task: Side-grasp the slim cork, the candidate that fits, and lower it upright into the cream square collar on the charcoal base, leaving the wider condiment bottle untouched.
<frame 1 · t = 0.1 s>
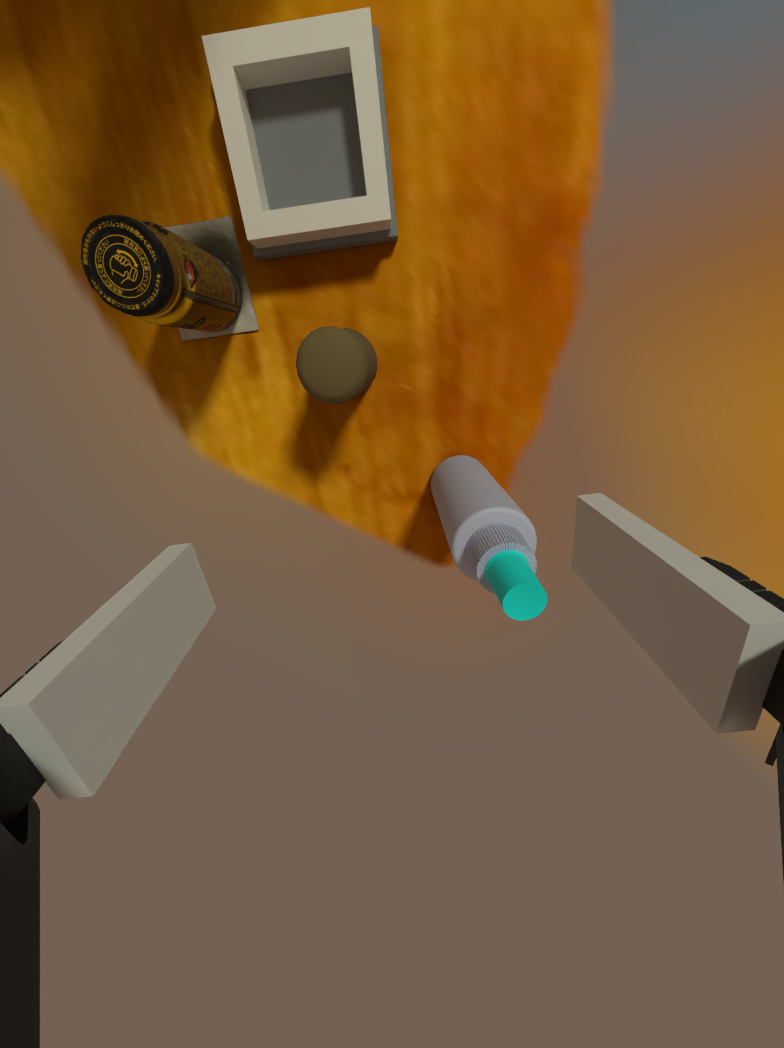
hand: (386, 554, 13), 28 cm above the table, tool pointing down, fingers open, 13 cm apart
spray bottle: (457, 481, 42), on the table
collar holder: (313, 160, 31), on the table
condiment: (207, 282, 34), on the table
cork: (345, 363, 37), on the table
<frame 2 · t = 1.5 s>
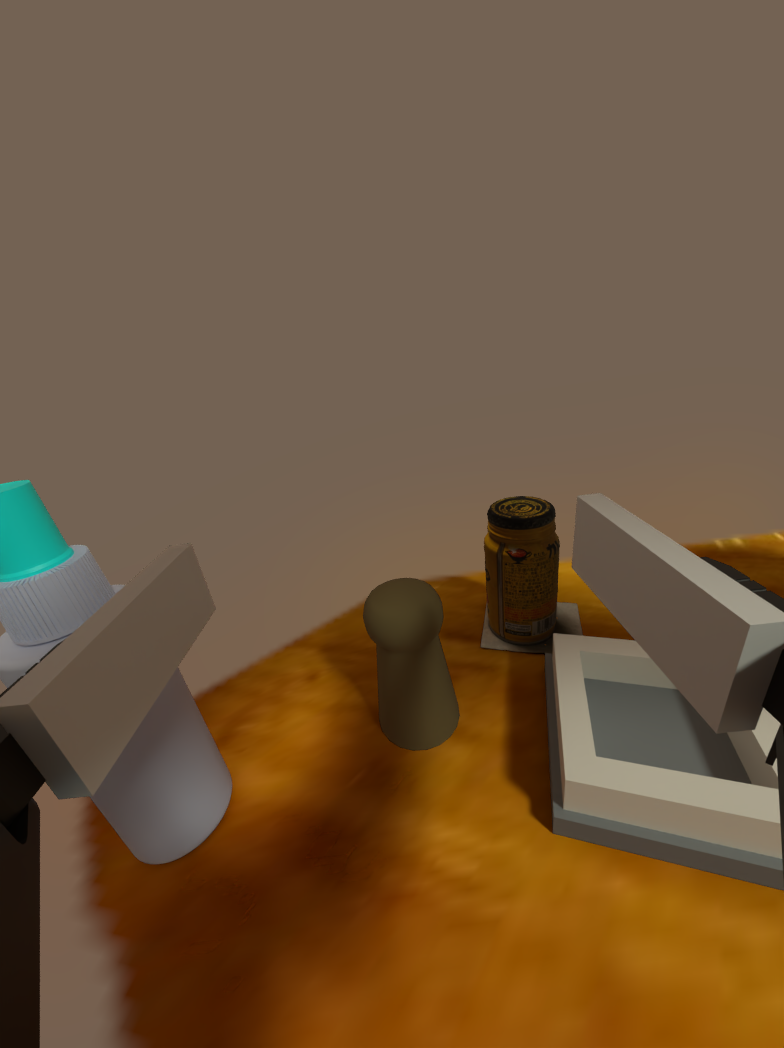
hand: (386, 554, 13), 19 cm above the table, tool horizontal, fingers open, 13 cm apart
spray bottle: (186, 812, 25), on the table
collar holder: (651, 751, 24), on the table
condiment: (531, 627, 36), on the table
cork: (419, 714, 29), on the table
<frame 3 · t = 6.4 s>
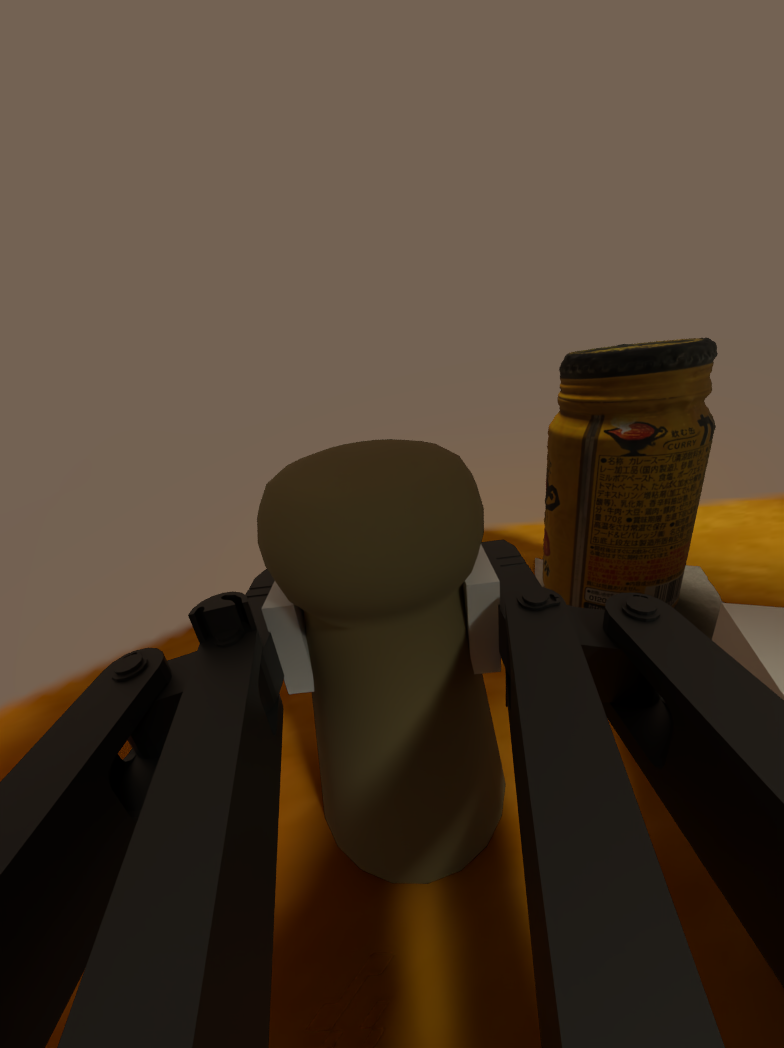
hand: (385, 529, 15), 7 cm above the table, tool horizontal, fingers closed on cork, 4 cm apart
condiment: (623, 604, 20), on the table
cork: (412, 775, 13), on the table, touching gripper
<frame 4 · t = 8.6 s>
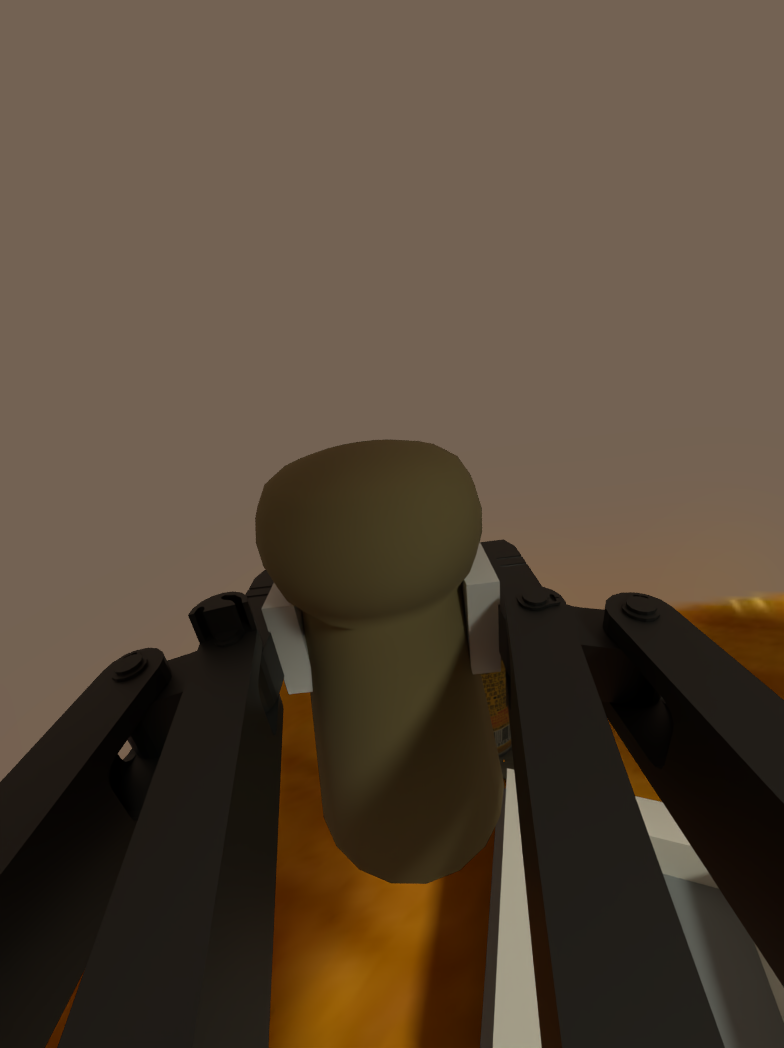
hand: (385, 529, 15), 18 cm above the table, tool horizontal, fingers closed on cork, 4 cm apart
collar holder: (648, 1004, 15), on the table
condiment: (488, 727, 27), on the table
cork: (411, 775, 13), point 11 cm above the table, touching gripper
when the fingers open (9 cm above the table, at t = 11.1 s): cork drops 1 cm, resting on collar holder.
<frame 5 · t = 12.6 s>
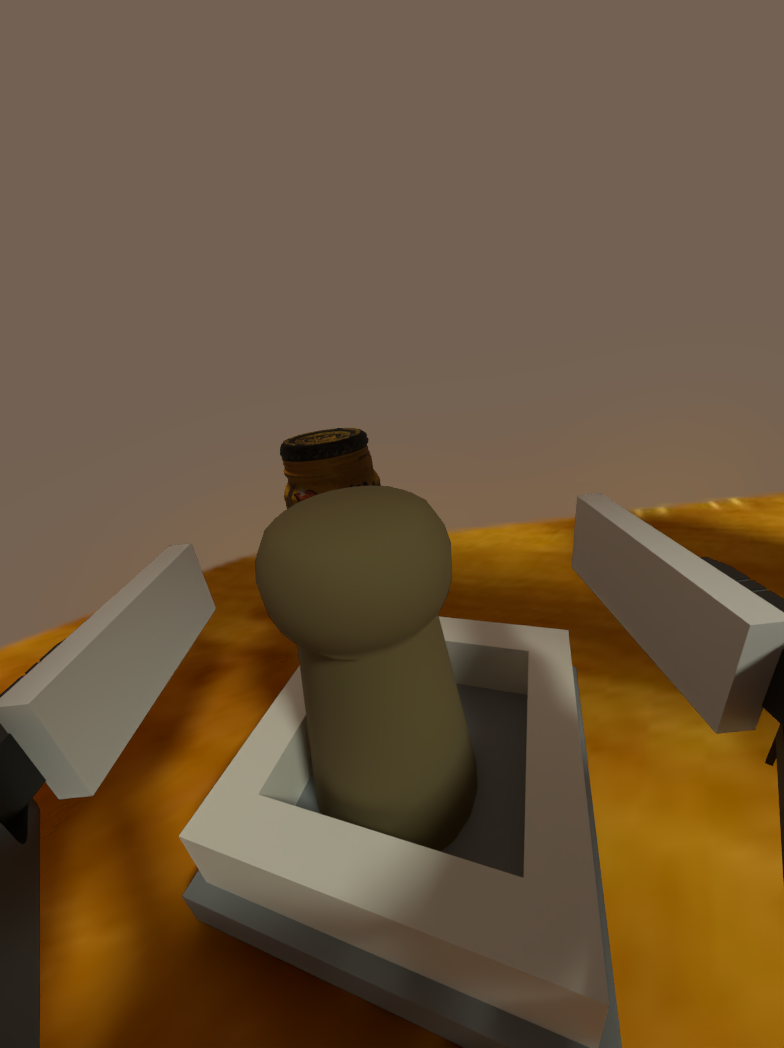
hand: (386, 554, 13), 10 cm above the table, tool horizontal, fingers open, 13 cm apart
collar holder: (422, 782, 16), on the table
condiment: (366, 606, 27), on the table
cork: (396, 772, 15), point 1 cm above the table, touching collar holder
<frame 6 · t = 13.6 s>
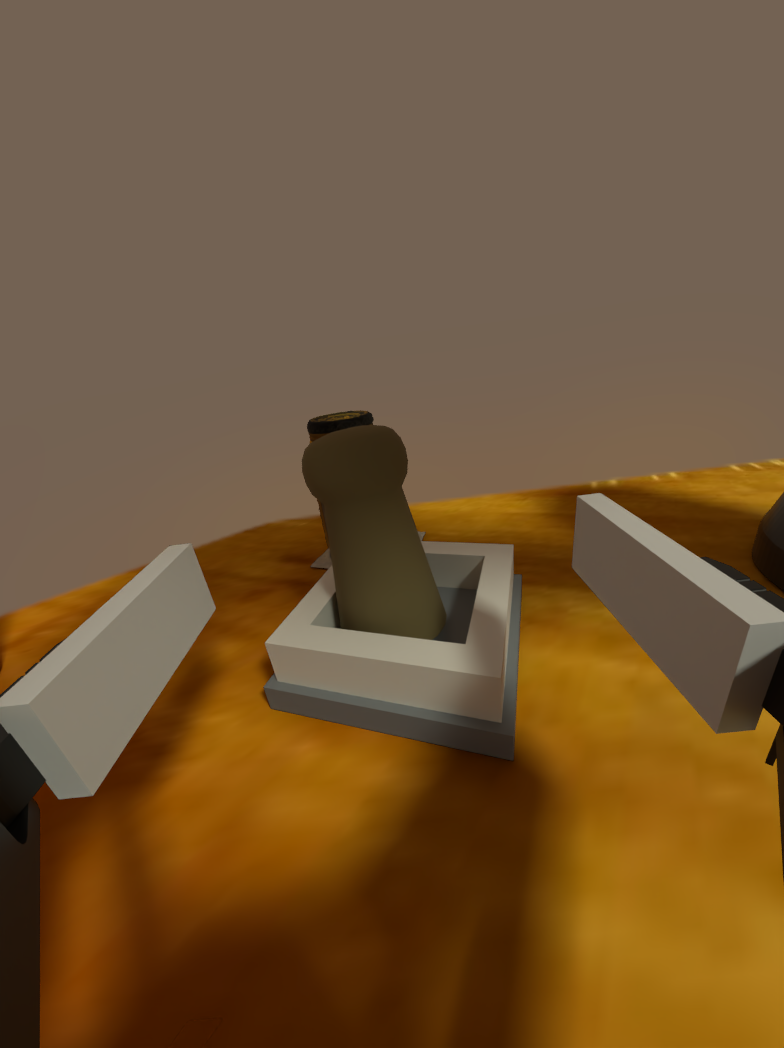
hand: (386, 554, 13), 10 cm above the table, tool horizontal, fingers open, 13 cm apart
collar holder: (412, 643, 23), on the table
condiment: (371, 552, 35), on the table
cork: (394, 626, 22), point 2 cm above the table, touching collar holder
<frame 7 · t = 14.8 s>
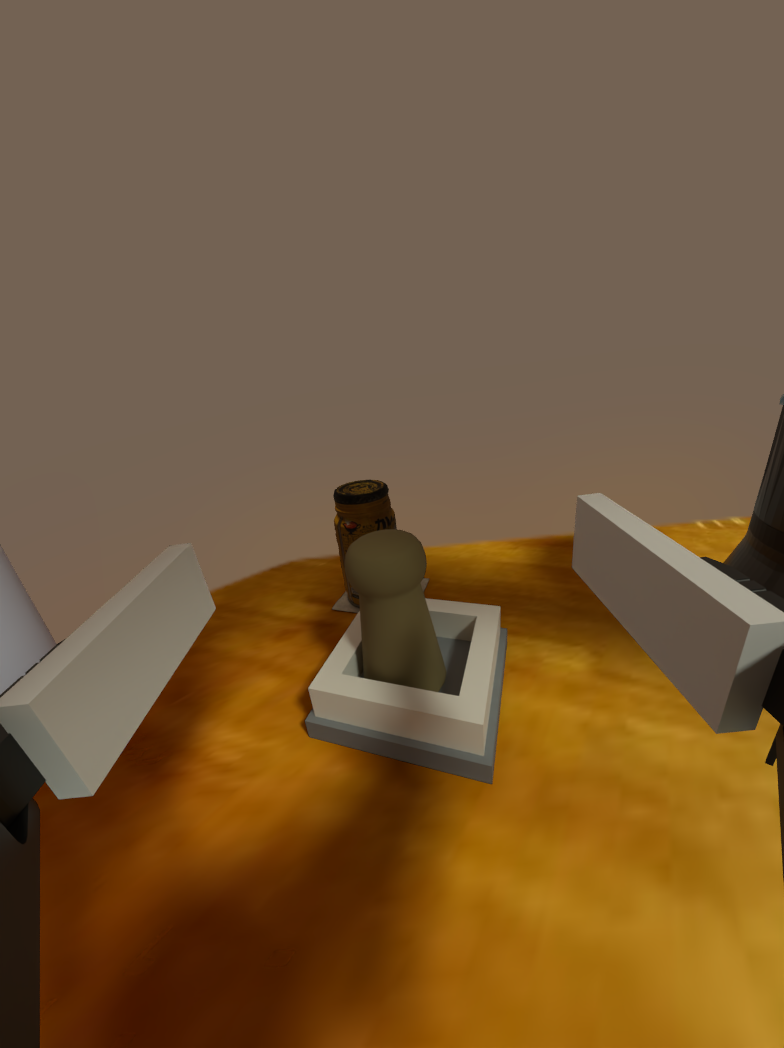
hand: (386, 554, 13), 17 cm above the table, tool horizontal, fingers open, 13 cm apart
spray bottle: (39, 720, 30), on the table
collar holder: (418, 685, 29), on the table
condiment: (382, 596, 41), on the table
cork: (405, 675, 28), point 1 cm above the table, touching collar holder
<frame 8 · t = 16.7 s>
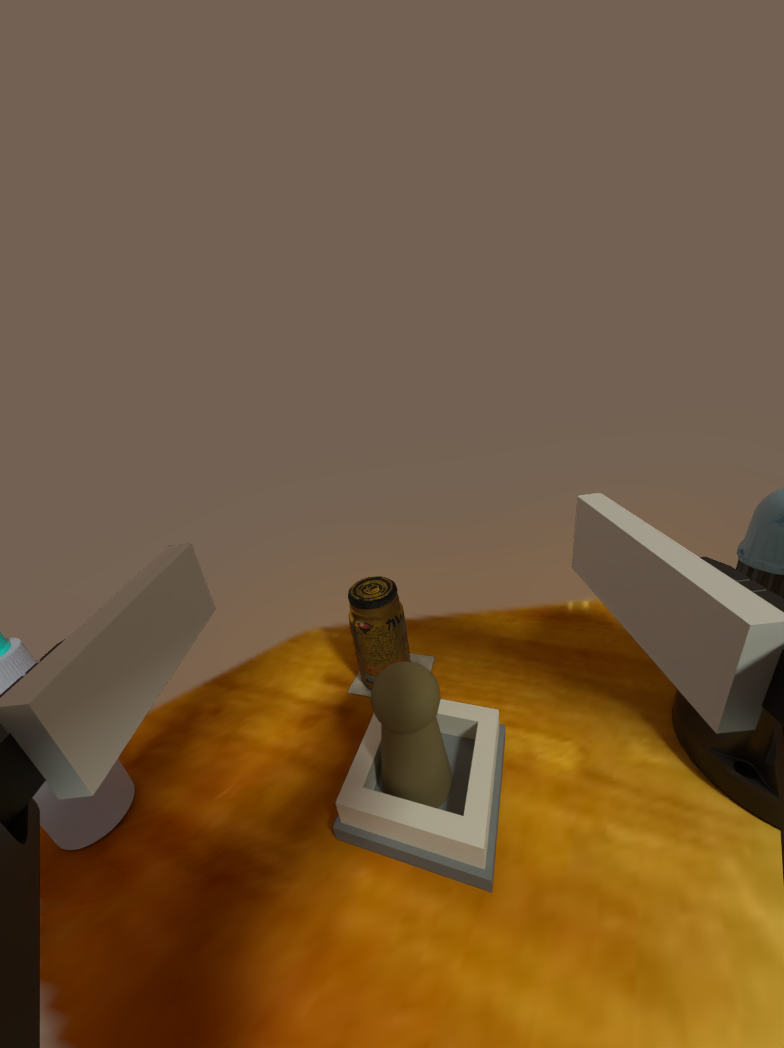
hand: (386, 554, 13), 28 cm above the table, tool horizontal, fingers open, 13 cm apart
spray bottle: (99, 814, 35), on the table
collar holder: (428, 783, 34), on the table
condiment: (393, 676, 45), on the table
cork: (416, 778, 33), point 1 cm above the table, touching collar holder
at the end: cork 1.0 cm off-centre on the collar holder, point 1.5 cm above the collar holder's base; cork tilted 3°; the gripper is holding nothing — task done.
